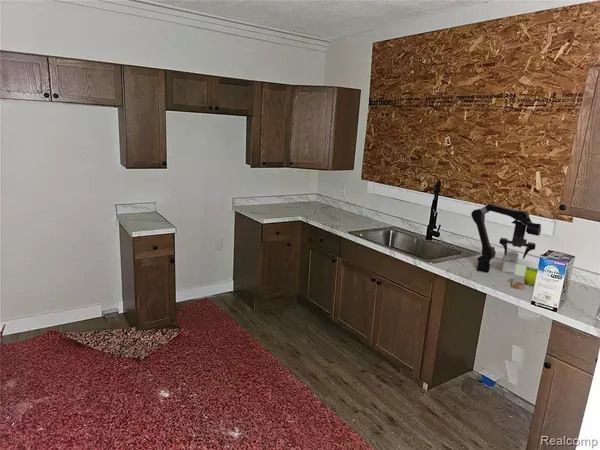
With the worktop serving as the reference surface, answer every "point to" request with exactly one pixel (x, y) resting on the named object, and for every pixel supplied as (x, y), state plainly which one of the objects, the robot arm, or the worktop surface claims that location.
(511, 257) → the supplement box
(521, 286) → the tower base
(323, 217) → the worktop surface
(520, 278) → the tower mid
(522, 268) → the sage cube
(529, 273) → the fruit
